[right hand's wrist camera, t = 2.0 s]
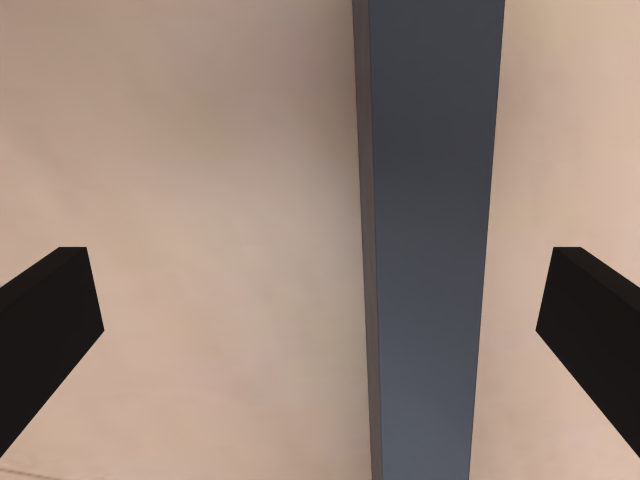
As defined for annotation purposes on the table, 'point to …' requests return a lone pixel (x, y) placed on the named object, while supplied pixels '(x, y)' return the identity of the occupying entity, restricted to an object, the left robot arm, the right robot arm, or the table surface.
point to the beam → (424, 222)
